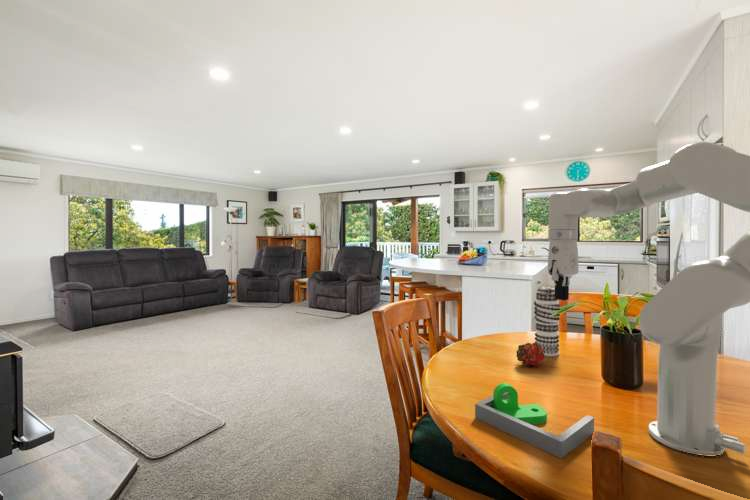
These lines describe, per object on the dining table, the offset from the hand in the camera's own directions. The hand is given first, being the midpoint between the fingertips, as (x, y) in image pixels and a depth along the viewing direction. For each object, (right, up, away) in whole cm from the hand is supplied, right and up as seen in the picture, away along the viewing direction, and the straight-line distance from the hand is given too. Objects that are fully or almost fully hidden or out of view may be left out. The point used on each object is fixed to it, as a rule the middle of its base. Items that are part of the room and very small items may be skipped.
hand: (561, 299), depth 104 cm
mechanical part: (-18, -28, -15) cm, 36 cm away
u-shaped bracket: (-16, -27, -18) cm, 36 cm away
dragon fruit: (0, -26, +21) cm, 34 cm away
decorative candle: (+12, -25, +34) cm, 44 cm away
